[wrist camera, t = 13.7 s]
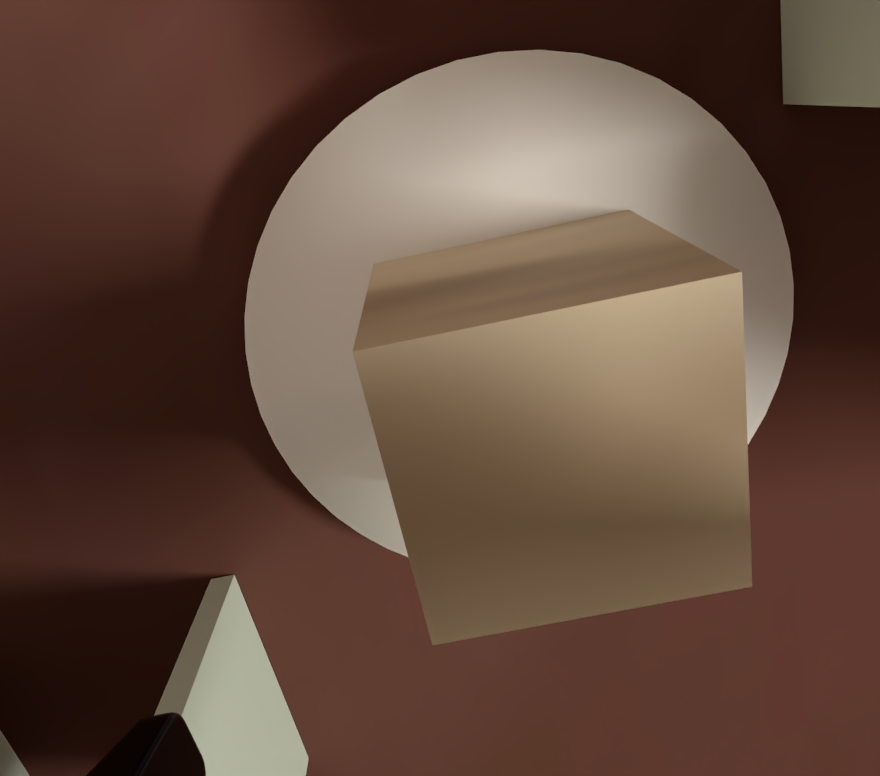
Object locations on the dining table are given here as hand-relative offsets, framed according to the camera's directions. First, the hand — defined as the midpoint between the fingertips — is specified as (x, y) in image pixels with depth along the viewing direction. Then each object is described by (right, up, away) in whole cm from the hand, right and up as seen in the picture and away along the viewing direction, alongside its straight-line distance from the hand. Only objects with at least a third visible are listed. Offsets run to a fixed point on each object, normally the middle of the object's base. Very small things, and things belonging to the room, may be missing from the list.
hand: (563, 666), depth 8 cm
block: (0, +4, +4) cm, 5 cm away
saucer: (0, +4, +4) cm, 6 cm away
